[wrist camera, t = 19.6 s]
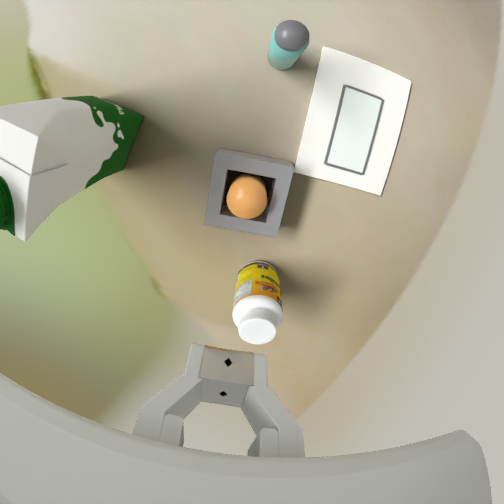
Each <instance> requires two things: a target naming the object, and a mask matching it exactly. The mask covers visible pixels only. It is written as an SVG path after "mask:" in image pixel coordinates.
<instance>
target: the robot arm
mask: <svg viewBox="0 0 504 504" xmlns="http://www.w3.org/2000/svg"><path fill="white" fill-rule="evenodd" d="M200 401H202V402H209V403H216V404H223V405H228V406H235V407H241V409H242V411H243V413H244V415H245V416H246V418H247V420H248V422H249V423H250V425H251V427H252V429H253V430H254V432H255V434H256V435H257V437H256V438H255V440H254V442H253V443H252V444H251V446H250V447H249V449H248V456H241V455H232V454H223V453H215V452H208V451H202V450H196V449H190V448H185V447H183V443H184V426H183V420H184V419H185V418H186V416H187V415H188V414H189V413H190V412H191V411H192V410H193V409H194V408H195V407H196V406H197V405H198V404H199V403H200ZM0 504H492V497H491V488H490V482H489V476H488V471H487V466H486V462H485V458H484V454H483V451H482V448H481V446H480V444H479V443H478V442H477V441H476V440H475V439H474V438H472V437H471V436H470V435H469V434H468V433H467V432H465V431H463V430H458V431H454V432H452V433H448V434H445V435H442V436H439V437H435V438H432V439H428V440H425V441H421V442H417V443H413V444H409V445H405V446H400V447H395V448H390V449H384V450H378V451H372V452H365V453H358V454H349V455H339V456H327V457H305V452H304V440H303V429H302V428H301V426H300V425H299V424H298V423H297V421H296V420H295V419H294V418H293V416H292V415H291V414H290V412H289V411H288V410H287V408H286V407H285V406H284V405H283V403H282V402H281V401H280V399H279V398H278V397H277V395H276V394H275V393H274V391H273V390H272V389H271V388H268V384H267V356H266V355H265V354H257V353H252V352H244V351H237V350H230V349H229V350H227V349H222V348H217V347H212V346H207V345H202V344H197V343H192V345H191V349H190V353H189V357H188V361H187V366H186V370H185V374H184V375H181V374H180V375H179V376H178V377H177V378H176V379H174V380H173V381H172V382H171V383H170V384H168V385H167V386H166V387H164V388H163V389H162V390H161V391H159V392H158V393H157V394H156V395H154V396H153V397H152V398H150V399H149V400H148V401H147V402H145V403H144V404H143V405H141V407H140V410H139V414H138V417H137V420H136V424H135V427H134V431H133V434H129V433H126V432H123V431H120V430H117V429H114V428H111V427H108V426H105V425H102V424H99V423H97V422H94V421H92V420H89V419H87V418H84V417H82V416H79V415H77V414H75V413H73V412H70V411H68V410H66V409H64V408H62V407H59V406H57V405H55V404H53V403H51V402H49V401H47V400H45V399H43V398H42V397H40V396H38V395H36V394H34V393H32V392H30V391H29V390H27V389H25V388H23V387H22V386H20V385H18V384H17V383H15V382H13V381H12V380H10V379H9V378H7V377H6V376H4V375H2V374H1V373H0Z"/></svg>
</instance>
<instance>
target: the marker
mask: <svg viewBox="0 0 504 504" xmlns="http://www.w3.org/2000/svg"><path fill="white" fill-rule="evenodd" d="M308 44H309V31H308V29H307V28H306V26H305V25H303V24H302V23H300V22H298V21H294V20H287V21H284V22H282V23H280V24H279V25H278V26H277V27H276V28H275V29H274V30H273V32H272V36H271V42H270V48H269V54H268V61H269V63H270V64H271V66H272V67H274V68H276V69H279V70H286V69H288V68H290V67H291V66H292V65H293V64H294V63H295V61H296V60H297V59H298V58H299V56H300V55H301V54H302V53H303V51H304V50H305V49H306V48H307V46H308Z"/></svg>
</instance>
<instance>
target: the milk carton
mask: <svg viewBox="0 0 504 504" xmlns="http://www.w3.org/2000/svg"><path fill="white" fill-rule="evenodd" d="M143 118H144V116H142V115H140V114H138V113H135V112H133V111H131V110H128V109H126V108H123V107H121V106H118V105H116V104H113V103H111V102H108V101H106V100H103V99H100V98H98V97H94V96H79V97H65V98H54V99H45V100H38V101H31V102H24V103H18V104H12V105H7V106H1V107H0V229H3V230H8V231H9V232H10V233H11V234H13V235H14V236H15V235H16V236H18V237H19V238H20V239H22V240H23V241H27V239H28V238H29V237H30V236H31V235H32V234H33V232H34V231H35V230H36V229H37V228H38V227H39V226H40V225H41V223H42V222H43V221H44V220H45V219H46V218H47V217H48V216H49V215H50V214H51V213H52V212H53V211H54V210H55V209H56V208H57V207H58V206H59V205H61V204H62V203H64V202H65V201H67V200H68V199H70V198H71V197H73V196H74V195H76V194H77V193H79V192H81V191H82V190H84V189H86V188H87V187H89V186H91V185H92V184H94V183H96V182H97V181H99V180H101V179H103V178H104V177H107V176H109V175H112V174H114V173H116V172H119V171H121V170H123V168H124V166H125V163H126V160H127V157H128V155H129V152H130V150H131V147H132V145H133V142H134V140H135V137H136V135H137V132H138V130H139V128H140V125H141V123H142V121H143Z"/></svg>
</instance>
